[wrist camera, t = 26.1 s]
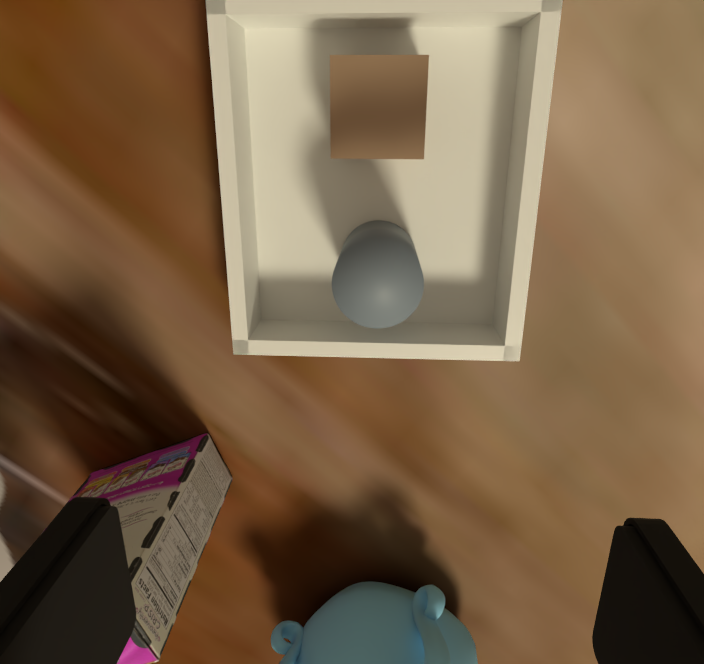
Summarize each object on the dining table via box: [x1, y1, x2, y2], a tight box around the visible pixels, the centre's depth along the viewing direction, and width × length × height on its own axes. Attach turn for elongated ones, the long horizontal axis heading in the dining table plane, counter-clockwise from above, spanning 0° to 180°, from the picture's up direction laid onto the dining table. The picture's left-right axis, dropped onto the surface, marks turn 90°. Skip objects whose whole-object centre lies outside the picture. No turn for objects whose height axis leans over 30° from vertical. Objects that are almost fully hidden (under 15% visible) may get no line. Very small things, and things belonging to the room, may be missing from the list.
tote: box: [206, 0, 563, 361], centre depth 33 cm, size 20×18×5 cm
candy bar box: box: [43, 433, 232, 664], centre depth 36 cm, size 11×5×16 cm, turn 112°
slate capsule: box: [332, 220, 424, 329], centre depth 32 cm, size 5×5×7 cm
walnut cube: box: [330, 55, 429, 159], centre depth 30 cm, size 5×5×5 cm
